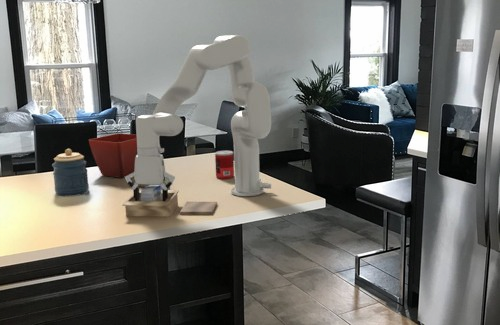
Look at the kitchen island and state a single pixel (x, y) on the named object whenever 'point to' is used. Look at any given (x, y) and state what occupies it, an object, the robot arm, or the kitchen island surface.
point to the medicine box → (151, 193)
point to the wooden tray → (152, 206)
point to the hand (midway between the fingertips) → (151, 200)
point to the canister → (70, 174)
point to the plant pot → (115, 154)
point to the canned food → (224, 164)
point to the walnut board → (198, 208)
